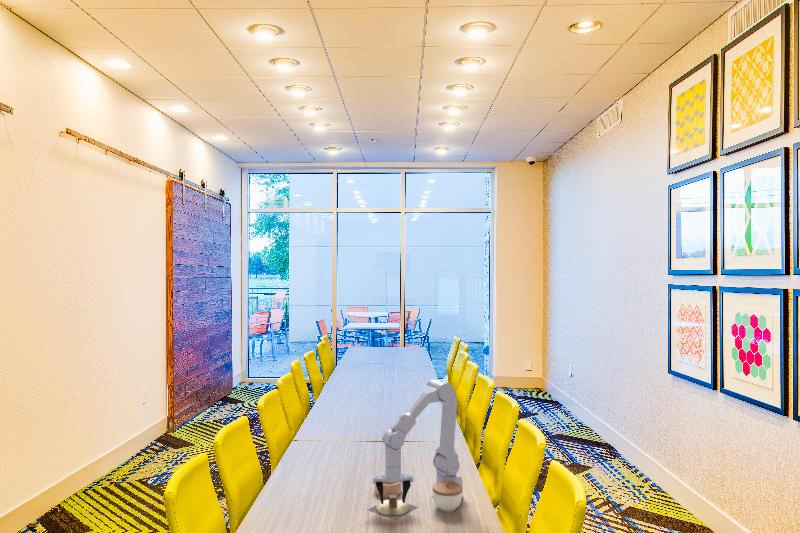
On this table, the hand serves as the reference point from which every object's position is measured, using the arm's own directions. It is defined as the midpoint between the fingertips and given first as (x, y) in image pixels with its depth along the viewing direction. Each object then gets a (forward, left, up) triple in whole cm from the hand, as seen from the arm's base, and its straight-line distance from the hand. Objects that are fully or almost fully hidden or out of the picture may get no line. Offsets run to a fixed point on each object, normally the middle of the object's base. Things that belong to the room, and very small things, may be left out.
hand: (392, 502), depth 199 cm
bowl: (+11, -11, -2) cm, 16 cm away
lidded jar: (-15, -13, -3) cm, 20 cm away
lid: (0, 0, -2) cm, 2 cm away
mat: (0, 0, -2) cm, 2 cm away
